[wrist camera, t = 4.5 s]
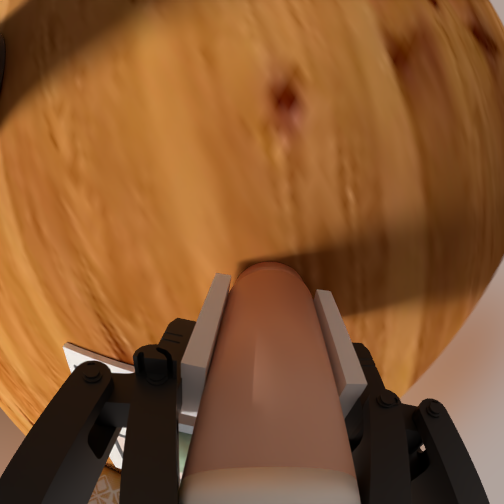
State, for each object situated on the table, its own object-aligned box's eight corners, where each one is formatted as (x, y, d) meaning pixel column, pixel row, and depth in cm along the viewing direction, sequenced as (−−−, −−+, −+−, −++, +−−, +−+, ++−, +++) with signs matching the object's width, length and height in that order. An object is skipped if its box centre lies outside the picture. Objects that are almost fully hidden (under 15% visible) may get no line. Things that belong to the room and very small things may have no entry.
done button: (165, 444, 18) (158, 466, 16) (161, 423, 17) (153, 448, 14) (207, 454, 18) (203, 476, 16) (209, 434, 17) (204, 460, 14)
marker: (225, 321, 16) (178, 528, 4) (235, 251, 14) (164, 494, 3) (298, 332, 16) (322, 537, 5) (318, 265, 14) (399, 495, 3)
